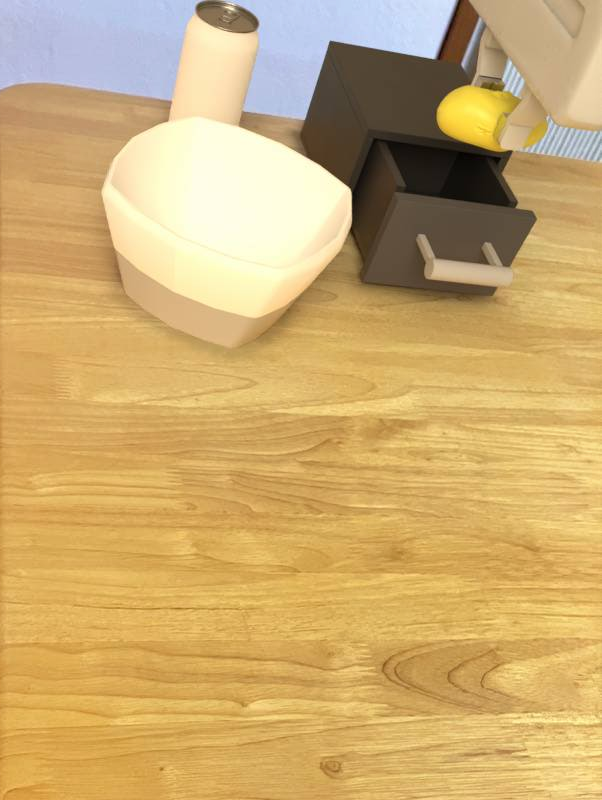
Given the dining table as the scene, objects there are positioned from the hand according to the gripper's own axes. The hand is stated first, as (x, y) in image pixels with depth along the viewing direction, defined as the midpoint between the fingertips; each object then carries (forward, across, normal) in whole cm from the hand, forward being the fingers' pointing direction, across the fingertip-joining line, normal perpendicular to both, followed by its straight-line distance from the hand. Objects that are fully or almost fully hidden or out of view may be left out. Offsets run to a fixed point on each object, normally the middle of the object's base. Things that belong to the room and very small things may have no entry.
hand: (492, 123), depth 62 cm
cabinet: (+17, +19, -3) cm, 25 cm away
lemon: (+2, 0, 0) cm, 2 cm away
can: (+16, +22, +15) cm, 31 cm away
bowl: (+16, 0, +17) cm, 24 cm away
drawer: (+16, +7, -3) cm, 17 cm away
